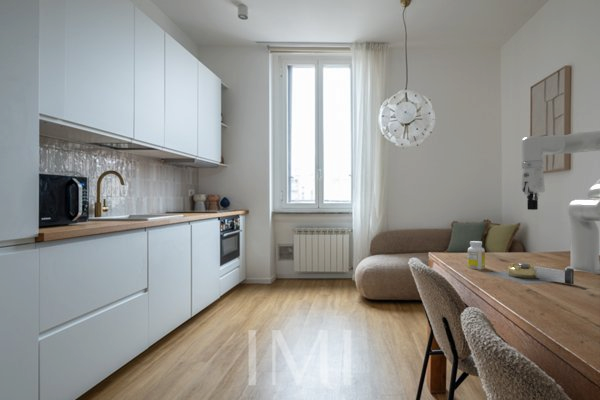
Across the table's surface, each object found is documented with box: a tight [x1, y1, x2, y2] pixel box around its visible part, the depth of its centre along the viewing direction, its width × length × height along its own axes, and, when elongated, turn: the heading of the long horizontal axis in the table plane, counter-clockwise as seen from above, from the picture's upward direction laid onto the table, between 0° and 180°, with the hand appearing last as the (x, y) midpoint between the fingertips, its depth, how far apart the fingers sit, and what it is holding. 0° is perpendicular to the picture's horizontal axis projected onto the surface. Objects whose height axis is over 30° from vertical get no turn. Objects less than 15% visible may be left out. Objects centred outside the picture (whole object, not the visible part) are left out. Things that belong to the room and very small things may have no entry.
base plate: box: [482, 270, 558, 285], centre depth 135 cm, size 20×20×2 cm
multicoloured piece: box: [507, 262, 575, 285], centre depth 130 cm, size 21×10×5 cm, turn 31°
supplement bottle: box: [467, 240, 486, 270], centre depth 152 cm, size 7×7×13 cm
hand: (532, 209), depth 148 cm, fingers closed
